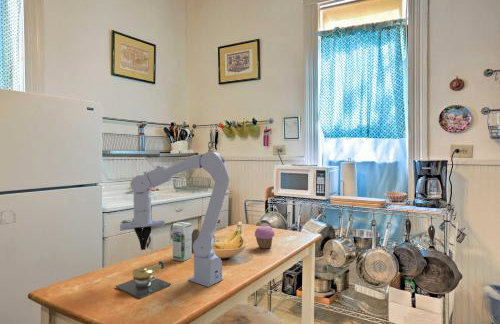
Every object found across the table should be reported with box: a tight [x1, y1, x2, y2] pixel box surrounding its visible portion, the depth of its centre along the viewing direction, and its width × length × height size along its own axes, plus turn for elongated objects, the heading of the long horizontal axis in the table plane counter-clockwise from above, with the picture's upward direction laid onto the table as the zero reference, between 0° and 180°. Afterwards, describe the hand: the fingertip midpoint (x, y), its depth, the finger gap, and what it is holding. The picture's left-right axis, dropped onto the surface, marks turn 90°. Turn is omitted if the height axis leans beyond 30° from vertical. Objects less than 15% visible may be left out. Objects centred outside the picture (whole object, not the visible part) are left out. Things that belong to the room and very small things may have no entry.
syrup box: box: [172, 221, 193, 262], centre depth 134 cm, size 6×6×14 cm
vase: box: [192, 228, 201, 251], centre depth 147 cm, size 7×7×9 cm
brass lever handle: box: [132, 260, 165, 280], centre depth 110 cm, size 12×6×2 cm, turn 152°
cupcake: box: [254, 225, 275, 250], centre depth 149 cm, size 9×9×10 cm
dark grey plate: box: [114, 276, 172, 300], centre depth 108 cm, size 13×12×3 cm
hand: (143, 249), depth 114 cm, fingers closed
